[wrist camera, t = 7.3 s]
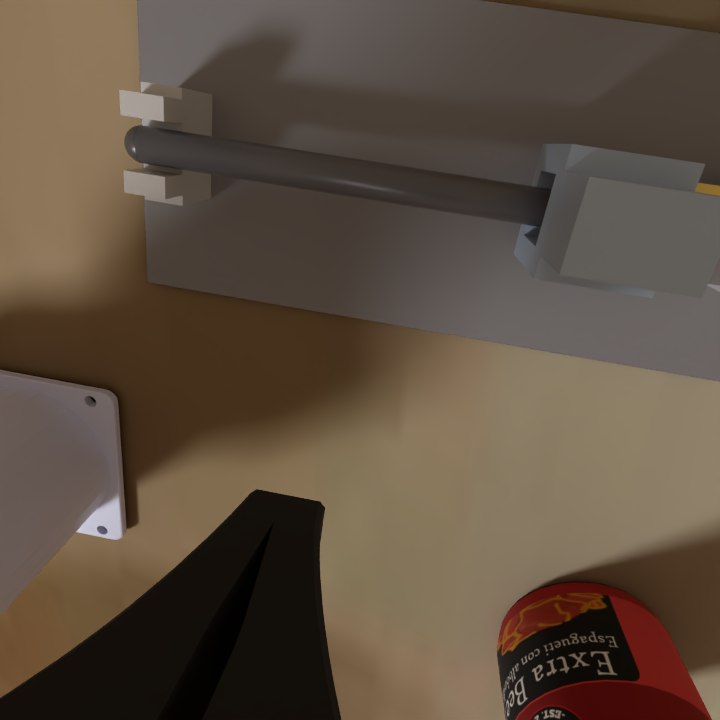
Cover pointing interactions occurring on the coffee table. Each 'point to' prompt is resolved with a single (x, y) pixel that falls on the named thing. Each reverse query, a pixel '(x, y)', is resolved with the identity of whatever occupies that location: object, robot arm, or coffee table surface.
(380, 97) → the linear slide rail
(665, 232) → the sleeve
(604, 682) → the canned food
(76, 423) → the robot arm
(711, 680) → the coffee table surface
